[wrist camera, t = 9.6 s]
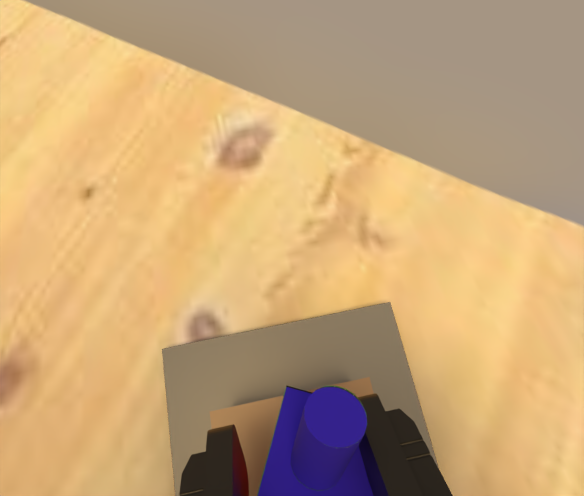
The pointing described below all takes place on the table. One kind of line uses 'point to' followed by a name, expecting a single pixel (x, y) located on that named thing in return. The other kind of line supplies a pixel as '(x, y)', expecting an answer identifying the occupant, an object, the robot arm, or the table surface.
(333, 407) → the toy building block
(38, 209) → the table surface
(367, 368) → the plate
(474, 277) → the table surface
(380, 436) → the robot arm
